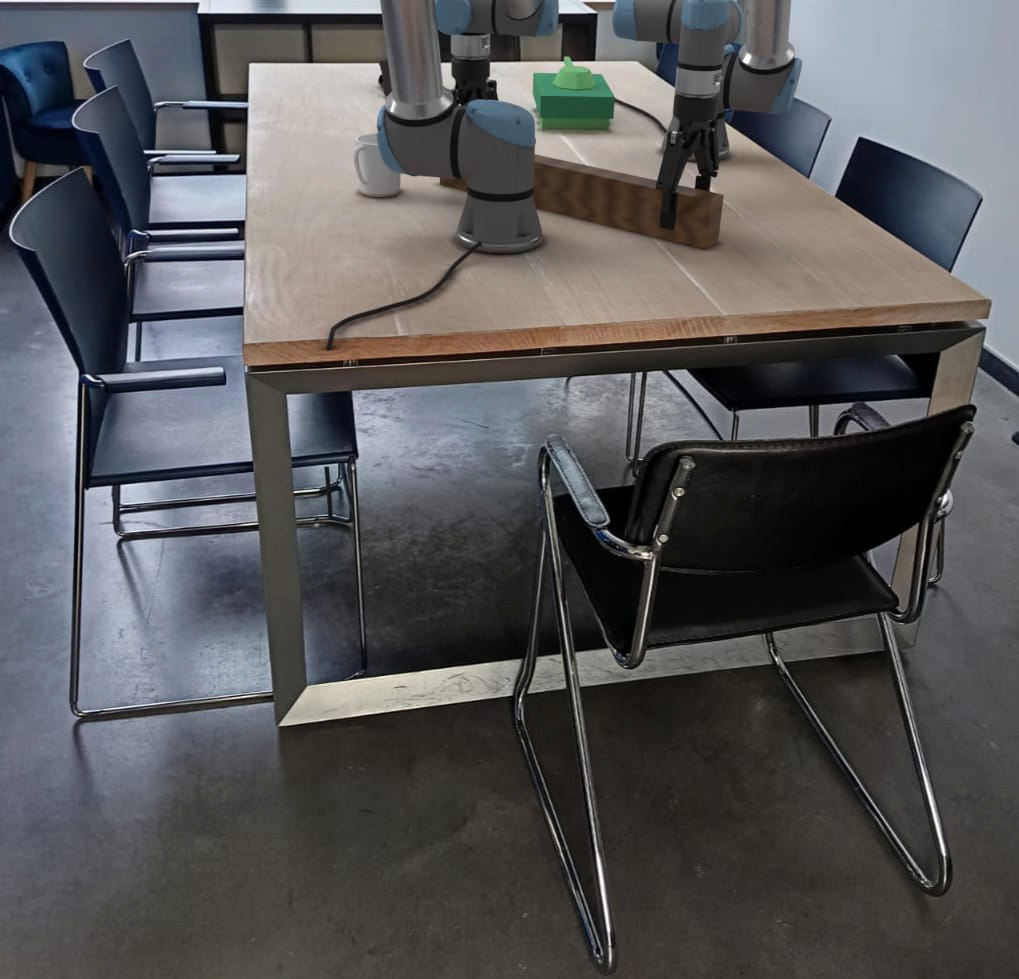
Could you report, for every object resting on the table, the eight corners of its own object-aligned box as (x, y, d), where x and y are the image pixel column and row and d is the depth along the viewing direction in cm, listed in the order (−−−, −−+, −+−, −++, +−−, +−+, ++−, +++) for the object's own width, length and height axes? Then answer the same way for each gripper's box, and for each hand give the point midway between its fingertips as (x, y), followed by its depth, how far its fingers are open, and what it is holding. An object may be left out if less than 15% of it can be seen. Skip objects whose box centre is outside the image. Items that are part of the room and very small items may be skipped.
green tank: (599, 53, 287) (616, 80, 258) (595, 101, 294) (612, 133, 264) (532, 51, 286) (541, 79, 257) (530, 100, 293) (539, 132, 263)
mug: (380, 182, 225) (378, 131, 219) (411, 190, 220) (410, 138, 215) (340, 193, 218) (337, 140, 212) (372, 202, 213) (370, 149, 207)
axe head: (443, 87, 294) (392, 77, 287) (436, 115, 299) (385, 106, 292) (421, 62, 307) (371, 52, 300) (414, 89, 311) (365, 80, 304)
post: (439, 184, 225) (438, 141, 220) (454, 179, 228) (453, 136, 224) (705, 249, 194) (711, 200, 189) (718, 243, 197) (724, 194, 192)
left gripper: (446, 67, 200) (447, 186, 212) (522, 50, 216) (520, 162, 228) (415, 62, 204) (418, 179, 215) (492, 46, 220) (491, 155, 232)
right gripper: (681, 108, 175) (668, 241, 187) (748, 86, 191) (732, 209, 203) (641, 101, 179) (631, 232, 190) (710, 80, 195) (696, 201, 207)
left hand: (470, 170), depth 222 cm, fingers open, 11 cm apart
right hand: (683, 220), depth 197 cm, fingers open, 11 cm apart
